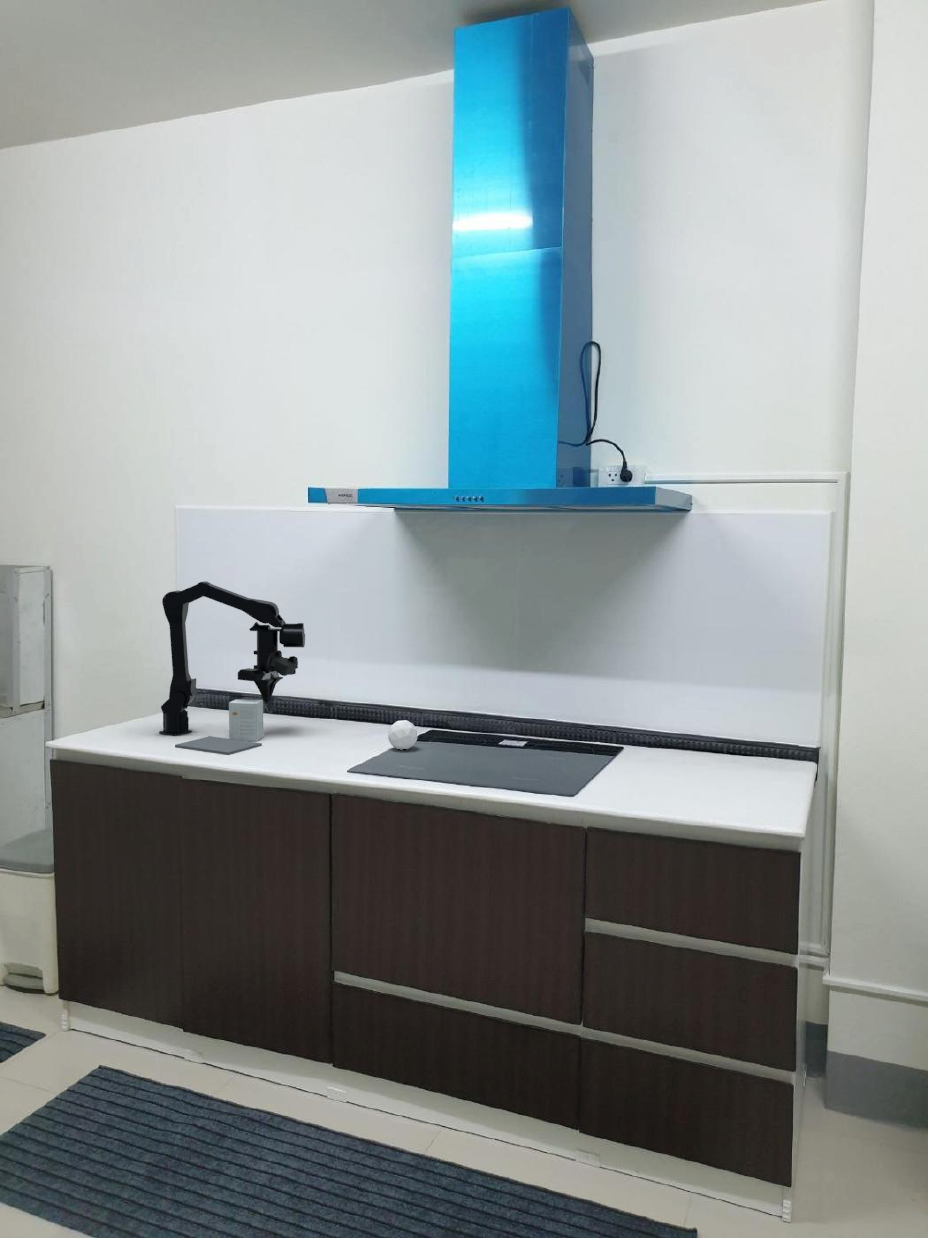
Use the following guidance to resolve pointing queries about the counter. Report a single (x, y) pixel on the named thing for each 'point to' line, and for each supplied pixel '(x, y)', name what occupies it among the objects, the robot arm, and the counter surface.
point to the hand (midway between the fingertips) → (267, 702)
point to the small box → (246, 720)
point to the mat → (218, 745)
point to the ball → (402, 735)
